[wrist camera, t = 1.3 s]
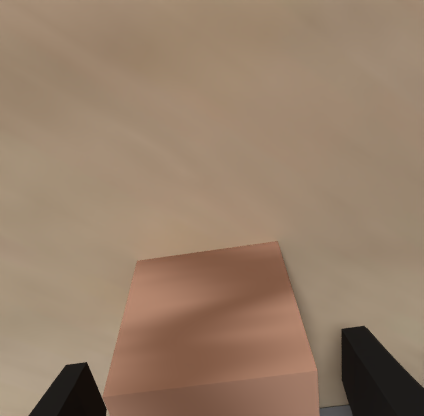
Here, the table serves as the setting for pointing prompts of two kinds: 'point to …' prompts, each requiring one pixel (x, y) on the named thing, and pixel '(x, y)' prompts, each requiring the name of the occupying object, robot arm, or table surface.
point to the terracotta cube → (213, 339)
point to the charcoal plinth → (336, 411)
